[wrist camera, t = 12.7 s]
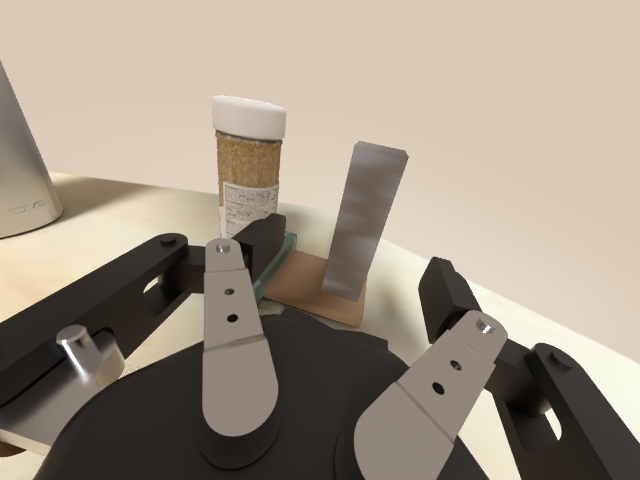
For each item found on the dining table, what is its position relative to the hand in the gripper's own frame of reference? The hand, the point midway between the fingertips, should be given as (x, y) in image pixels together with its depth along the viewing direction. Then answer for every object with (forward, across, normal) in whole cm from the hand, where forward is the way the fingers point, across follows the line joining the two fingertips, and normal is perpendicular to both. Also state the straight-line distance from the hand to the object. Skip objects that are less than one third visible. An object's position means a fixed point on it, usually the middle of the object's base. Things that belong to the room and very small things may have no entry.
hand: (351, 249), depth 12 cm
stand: (+4, +6, +7) cm, 10 cm away
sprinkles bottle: (+4, +9, +8) cm, 12 cm away
